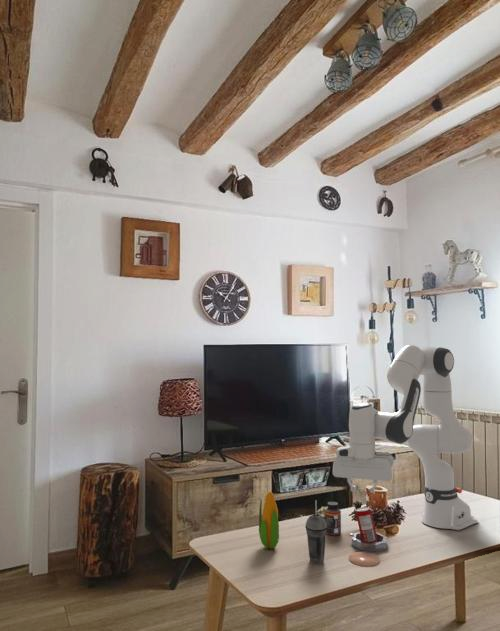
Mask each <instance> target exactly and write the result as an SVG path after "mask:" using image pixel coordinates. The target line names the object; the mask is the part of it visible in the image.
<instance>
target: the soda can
mask: <svg viewBox="0 0 500 631" xmlns="http://www.w3.org/2000/svg"><path fill="white" fill-rule="evenodd" d="M355 511H356V512H355V514H356V520H357V525H358V528H359V532H360V534H361V539H362V540H361V541H362V542H367V543H377V542H378V541H377V535H376V532H377V530H376V527H375V522H374V519H373V518H374V517H373V513H372V510H371V508H370V507H368V506H365V507H364V506H363V507H359V508H357V509H356V510H355Z"/></svg>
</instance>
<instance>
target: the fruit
mask: <svg viewBox="0 0 500 631" xmlns="http://www.w3.org/2000/svg"><path fill="white" fill-rule="evenodd" d="M326 508H328V505H326V506H321V508H319V509H317V514H319V515H321V516H322V517H323V518H324V519H325V510H326Z"/></svg>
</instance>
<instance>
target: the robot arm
mask: <svg viewBox="0 0 500 631" xmlns="http://www.w3.org/2000/svg"><path fill="white" fill-rule="evenodd" d="M454 365H455V358H454V355H453V353H452V351H451V350H450V349H449V348H445V347H433V346H423V347H419V346H417V345H414V344H413V345H412V344H408V345H405V346H403V347H402V348H401V349H400V350H399V352H398V353H397V354H396V356H395V357H394V359H393V360H392V362H391V364H390V366H389V368H388V369H387V373H386V379H387V382H388V384H389V385H390V386H391V387H392V389H393V390H394V391H396V392H398V393H399V394H402V395H403V398H402V401H401V405H400V409H399V410H398V411H397V412H387V411H386V412H385V411H379V410H377V409H376V408H374V406H373V403H370V402H357V403H354V404H352V405H351V406H350V410H349V414H348V416H349V417H348V430H349V438H348V444H345V445H343V446H339V447H338V448H337V449H336V451H335V455H336V456H335V457H334V459H333V463H332V475H333V476H334V478H343V479H347V483H348V485H349V487H350V492H354V493H355V492H356V490H357V489H356V484H355V485H354V484H353V482H352V480H353V479H357V480H368V481H369V480H370V481H372V483H373V486H370V487H369V493H370V494H375V492H376V489H375V488H376V486H378V483H379V481H381V482H383V481H384V482H391V481H393V479H394V472H393V465H394V463H395V462H394V461H395V459H394V456H393V455H392V454H391V453H390V452H386V451H385V452H382V451H376V440H375V439H377V440H383V441H388V442H392V443H396V444H400V445H401V444H404V443H405V444H406V445H407V446H408V448H409V449H411V450H412V451H413V452H414V453H415V454H416V455H417V456H418V457H419V459H420V461H421V463H422V466H423V472H424V485H423V494H424V498H423V509H422V513H421V522H422V523H424V524H425V525H427V526H430V527H433V528H437V529H448V530H455V531H460V530H462V529H465V528H467V527H469V526H471V525H474V524H476V523H478V519H477V518H476V517H475V516H473V515H472V513H471V507H470V506H469V504H467V502H465V501H464V500H463V499H462V498H460V497H459V495H458V494H462V493H463V489H462V488H461V487H457V486H456V487H455V471H454V469H453V467H452V465H451V464H449V463H448V462H446V461H445V460H443V459H441V458H439V456H438V455H437V454H438V453H439V454H440V453H441V454H442V453H443V454H455V455H456V454H465V453H469V451H471V449H472V447H473V444H474V438H473V435H472V432H471V431H470V430H469V429H468V428H466V427H465V426H464V425H463V424H462V423H461V422H460V421H459V419H458V418H457V417H456V414H455V411H454V406H453V396H452V392H453V391H452V382H451V381H452V380H451V375H450V374H451V372H452V371H453V369H454ZM420 375H421V376H423V380H422V387H421V383H420V381H419V377H420ZM421 391H422V392H421ZM421 393H422V405H423V410H424V411H425V412H426V414H429V416H432V417H433V418H436V419H437V420H438V421H439V424H427V423H426V424H424V423H420V424H419V423H418V424H414V423H415V422H414V421H415V418H416V413H417V409H418V405H419V401H420V397H421Z"/></svg>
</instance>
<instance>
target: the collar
mask: <svg viewBox="0 0 500 631" xmlns="http://www.w3.org/2000/svg"><path fill="white" fill-rule="evenodd" d="M376 535H377V542H376V543H367V542H362V539H361V534H360V531H358V532H353V533H349V536H350V537H351V546H352V547H354V548H356V549H358V550H360V551H361V552H369V553H371V552H372V553H377V552H381V551H385V550H387V547H388V545H387V544H388V537H387V536H386V535H383V534H382V533H380V532H377V531H376Z"/></svg>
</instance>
